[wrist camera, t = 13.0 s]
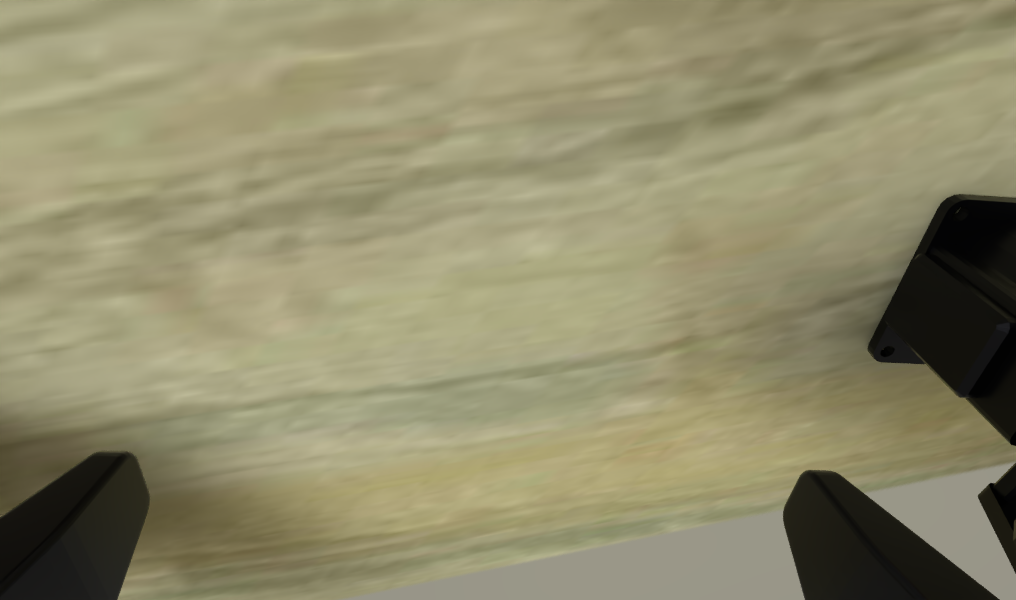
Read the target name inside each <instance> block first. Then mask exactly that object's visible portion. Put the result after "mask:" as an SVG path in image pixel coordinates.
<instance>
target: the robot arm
mask: <svg viewBox="0 0 1016 600" xmlns="http://www.w3.org/2000/svg"><path fill="white" fill-rule="evenodd" d="M960 207H961V208H960ZM959 208H960V210H959V211H958V213H956V214H955V215H953V213H954V212H955V211H956V210H957V209H959ZM885 347H886V348H885ZM883 348H885V349H883ZM882 349H883V350H882ZM868 352H869V353H870V354H871V355H872V357H873V358H874V359H875V360H876V361H879V362H888V363H911V364H926V365H927V366H928V367H929V368H930V369H931V370H932V371H933V372H934V373H935V374H936V375H937V376H938V377H939V378H940V379H941V380H942V381H943V382H944V383H945V384H946V385H947V386H948V387H949V388H950V389H951V390H952V391H953V392H954V393H955V394H956V395H957V396H959V397H960V398H965V399H966V400H967V401H968V402H969V403H970V404H971V405H972V406H973V407H974V408H975V409H976V410H977V411H978V412H979V413H980V414H981V415H982V416H983V417H984V418H985V419H986V420H987V421H988V422H989V423H990V424H991V425H992V426H993V427H994V428H995V429H996V430H997V431H998V432H999V433H1000V434H1001V435H1002V436H1003V437H1004V438H1005V439H1006V440H1007V441H1008V442H1009V443H1010V444H1011V445H1015V446H1016V198H1006V197H991V196H976V195H961V194H959V195H953V196H951V197H949V198H947V199H946V200H944V201H943V202H942V203H941V204H940V206H939V207H938V209H937V211H936V213H935V215H934V217H933V219H932V221H931V223H930V225H929V227H928V229H927V231H926V233H925V235H924V236H923V238H922V240H921V242H920V244H919V246H918V248H917V250H916V252H915V254H914V256H913V258H912V260H911V262H910V264H909V266H908V268H907V270H906V272H905V274H904V276H903V278H902V280H901V282H900V284H899V286H898V288H897V290H896V292H895V293H894V295H893V297H892V299H891V301H890V303H889V305H888V307H887V309H886V311H885V313H884V315H883V317H882V319H881V321H880V323H879V325H878V327H877V329H876V331H875V333H874V335H873V337H872V339H871V341H870V343H869V345H868ZM978 498H979V500H980V503H981V504H982V506H983V509H984V510H985V512H986V514H987V517H988V519H989V521H990V523H991V525H992V527H993V529H994V531H995V533H996V535H997V537H998V538H999V540H1000V543H1001V545H1002V547H1003V548H1004V551H1005V553H1006V555H1007V557H1008V559H1009V561H1010V563H1011V565H1012V566H1013V569H1014V571H1015V573H1016V463H1015V464H1014V465H1013V466H1012V467H1011V468H1010V469H1009V470H1008V471H1007V472H1006V473H1005V474H1004V475H1003V476H1002V477H1001V478H1000V479H999V480H998V481H997V482H996V483H990V484H989V485H988V486H987V487H986V488H985V489H984V490H983V491H982V492H981V493H980V494H979V495H978ZM149 503H150V496H149V491H148V488H147V485H146V482H145V479H144V477H143V474H142V471H141V468H140V465H139V463H138V460H137V458H136V456H135V455H134V454H133V453H131V452H128V451H99V452H96V453H94V454H92V455H90V456H89V457H87V458H86V459H84V460H83V461H81V462H80V463H79V464H77V465H76V466H74V467H73V468H71V469H70V470H68V471H67V472H65V473H64V474H63V475H61V476H60V477H58V478H57V479H55V480H54V481H52V482H51V483H50V484H48V485H47V486H45V487H44V488H42V489H41V490H39V491H38V492H36V493H35V494H34V495H32V496H31V497H29V498H28V499H26V500H25V501H23V502H22V503H20V504H19V505H18V506H16V507H15V508H13V509H12V510H10V511H9V512H7V513H6V514H5V515H3V516H2V517H0V600H117V599H118V596H119V593H120V590H121V588H122V585H123V582H124V579H125V576H126V573H127V570H128V567H129V565H130V562H131V559H132V556H133V553H134V550H135V547H136V544H137V541H138V539H139V536H140V533H141V530H142V527H143V524H144V521H145V518H146V516H147V513H148V509H149ZM783 521H784V526H785V529H786V533H787V537H788V541H789V544H790V548H791V551H792V554H793V558H794V562H795V566H796V569H797V573H798V576H799V580H800V584H801V587H802V591H803V594H804V598H805V600H999V599H998V598H997V597H996V596H994V595H993V594H992V593H990V592H989V591H988V590H987V589H985V588H984V587H983V586H982V585H980V584H979V583H977V582H976V581H975V580H974V579H973V578H971V577H970V576H969V575H968V574H966V573H965V572H964V571H962V570H961V569H960V568H958V567H957V566H956V565H955V564H953V563H952V562H951V561H950V560H948V559H947V558H946V557H945V556H943V555H942V554H941V553H939V552H938V551H937V550H936V549H934V548H933V547H932V546H930V545H929V544H928V543H926V542H925V541H924V540H923V539H922V538H920V537H919V536H918V535H916V534H915V533H914V532H913V531H911V530H910V529H909V528H907V527H906V526H905V525H904V524H902V523H901V522H900V521H899V520H897V519H896V518H895V517H893V516H892V515H891V514H890V513H888V512H887V511H886V510H884V509H883V508H882V507H881V506H879V505H878V504H877V503H875V502H874V501H873V500H872V499H870V498H869V497H868V496H867V495H865V494H864V493H863V492H861V491H860V490H859V489H858V488H856V487H855V486H854V485H852V484H851V483H850V482H849V481H847V480H846V479H845V478H844V477H842V476H841V475H839V474H838V473H836V472H833V471H826V470H807V471H805V472H803V473H802V474H801V475H800V477H799V479H798V481H797V483H796V485H795V487H794V489H793V490H792V492H791V494H790V496H789V498H788V500H787V502H786V504H785V507H784V511H783Z"/></svg>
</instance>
